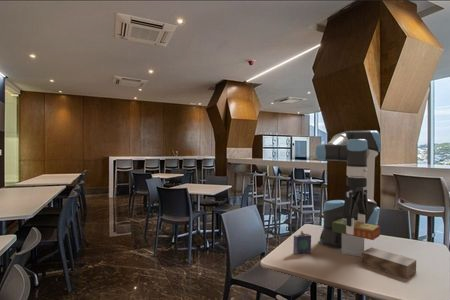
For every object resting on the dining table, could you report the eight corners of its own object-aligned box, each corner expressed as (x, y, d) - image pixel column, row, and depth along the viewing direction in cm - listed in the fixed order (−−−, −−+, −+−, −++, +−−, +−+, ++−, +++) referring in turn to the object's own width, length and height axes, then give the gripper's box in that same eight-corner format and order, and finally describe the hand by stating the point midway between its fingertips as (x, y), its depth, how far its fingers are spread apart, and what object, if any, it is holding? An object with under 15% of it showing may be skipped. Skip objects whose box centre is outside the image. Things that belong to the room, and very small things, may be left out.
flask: (294, 255, 130) (295, 232, 130) (291, 253, 133) (292, 231, 133) (311, 253, 132) (312, 231, 132) (308, 251, 135) (308, 230, 135)
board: (341, 250, 137) (342, 217, 137) (363, 253, 133) (364, 220, 133) (341, 253, 133) (341, 219, 133) (364, 257, 129) (364, 222, 129)
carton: (373, 241, 103) (373, 229, 103) (331, 231, 114) (331, 221, 114) (380, 236, 109) (380, 225, 109) (340, 227, 120) (340, 217, 120)
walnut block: (361, 263, 122) (361, 252, 122) (371, 257, 128) (371, 247, 128) (407, 278, 108) (407, 266, 108) (416, 271, 114) (416, 260, 114)
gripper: (352, 179, 102) (351, 239, 102) (378, 176, 115) (377, 229, 115) (333, 177, 108) (332, 234, 108) (360, 174, 121) (359, 225, 121)
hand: (355, 231), depth 112 cm, fingers closed on carton, 9 cm apart
